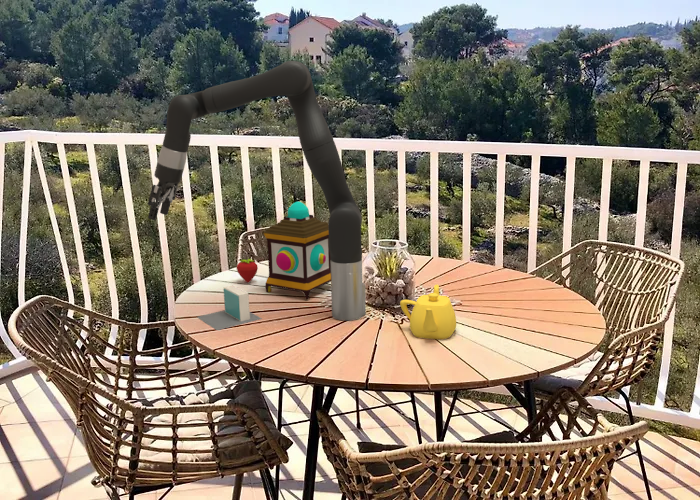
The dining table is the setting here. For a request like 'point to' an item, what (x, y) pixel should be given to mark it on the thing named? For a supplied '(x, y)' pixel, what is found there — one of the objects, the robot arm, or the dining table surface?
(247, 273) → the strawberry
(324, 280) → the decorative lantern
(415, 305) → the teapot
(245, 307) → the block
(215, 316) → the mat
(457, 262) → the dining table surface
